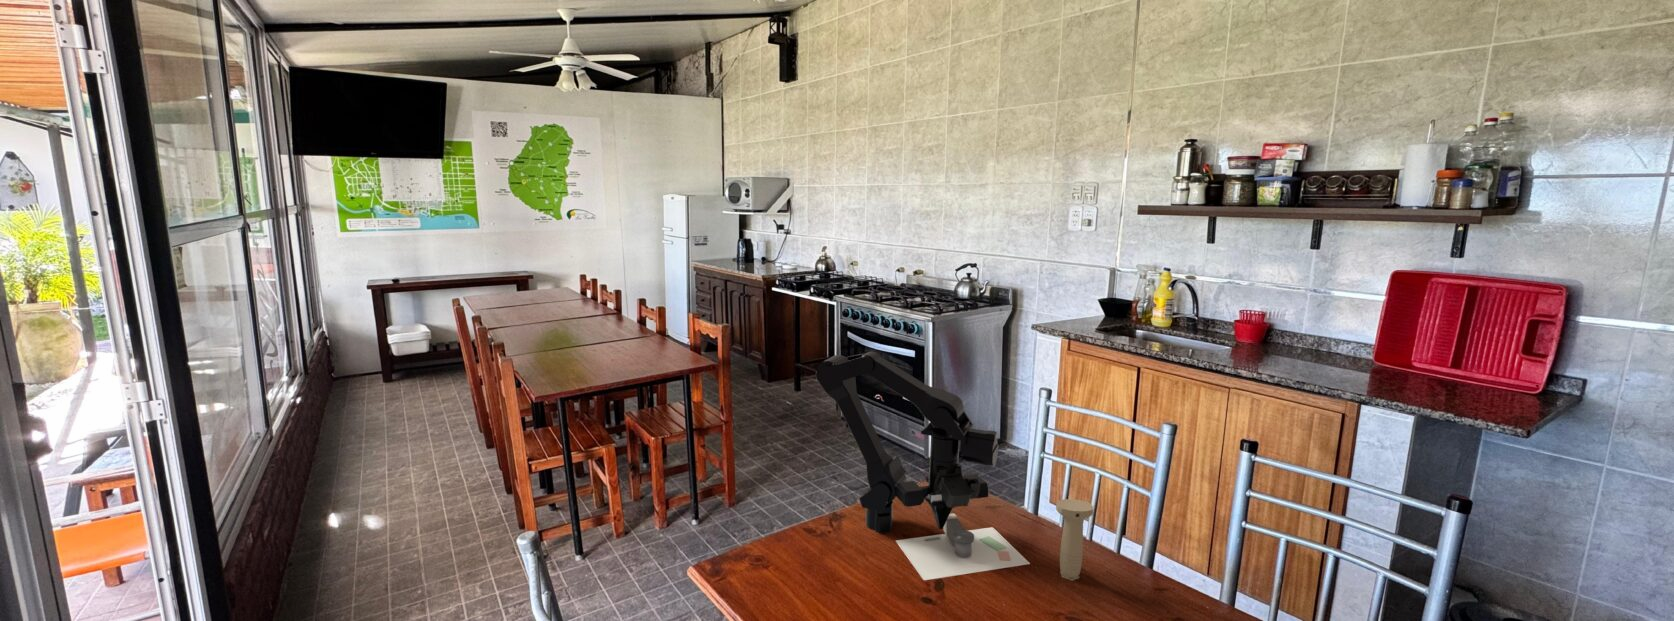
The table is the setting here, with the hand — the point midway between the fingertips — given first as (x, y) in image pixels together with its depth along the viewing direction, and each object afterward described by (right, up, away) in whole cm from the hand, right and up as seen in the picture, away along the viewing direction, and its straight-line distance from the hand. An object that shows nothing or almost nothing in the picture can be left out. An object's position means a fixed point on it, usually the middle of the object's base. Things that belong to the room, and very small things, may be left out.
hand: (940, 528), depth 142 cm
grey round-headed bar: (+3, -2, -3) cm, 5 cm away
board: (+3, -4, -5) cm, 7 cm away
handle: (+22, -6, -13) cm, 26 cm away
